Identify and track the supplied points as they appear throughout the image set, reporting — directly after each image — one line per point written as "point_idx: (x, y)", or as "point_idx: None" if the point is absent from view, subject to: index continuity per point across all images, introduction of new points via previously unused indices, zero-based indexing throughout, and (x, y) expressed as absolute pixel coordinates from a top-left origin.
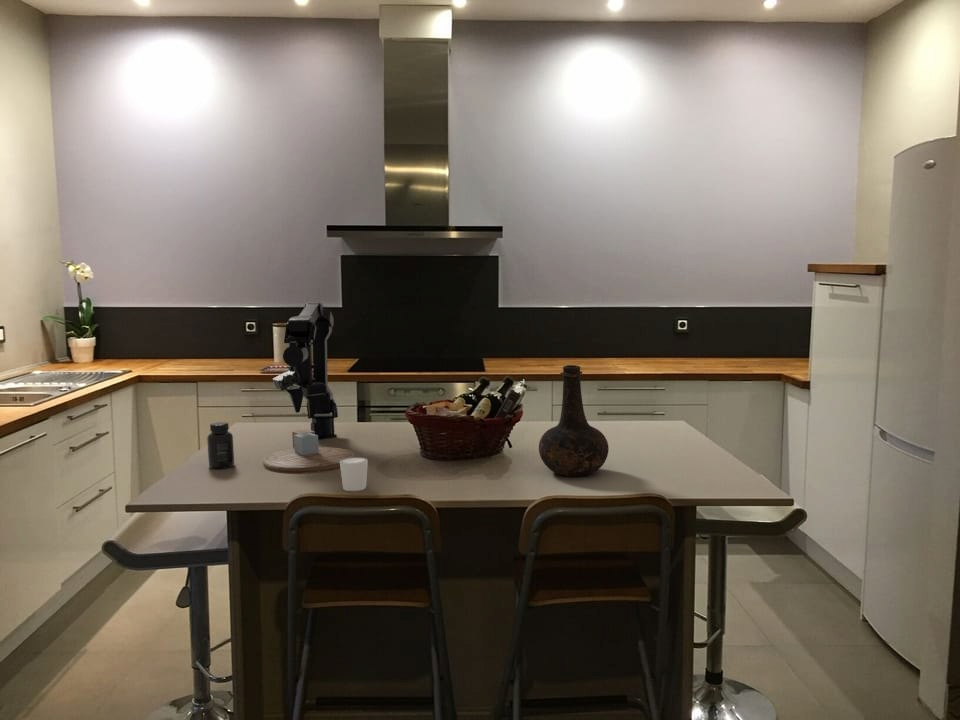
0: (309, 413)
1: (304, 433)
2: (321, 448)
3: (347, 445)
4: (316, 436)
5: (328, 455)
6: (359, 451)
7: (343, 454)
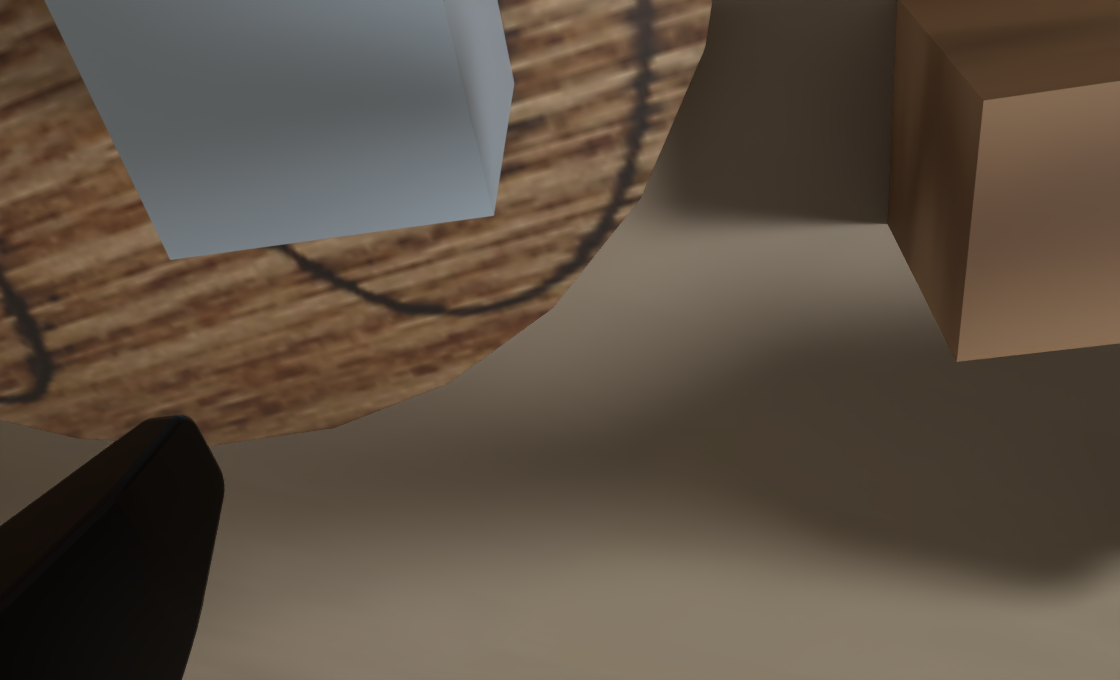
0: (88, 478)
1: (970, 193)
2: (514, 229)
3: (748, 514)
4: (166, 225)
5: (23, 180)
6: (400, 517)
7: (42, 340)
